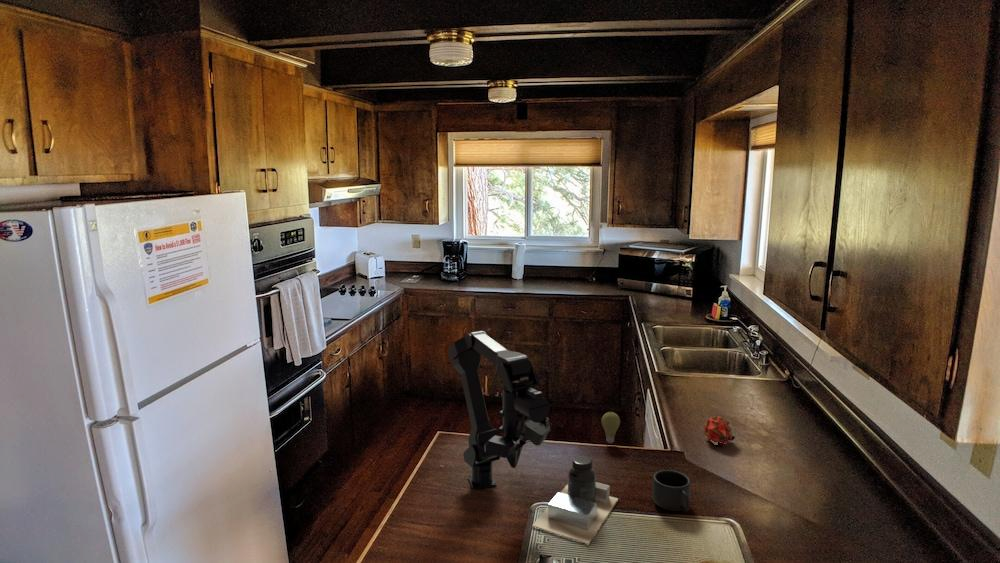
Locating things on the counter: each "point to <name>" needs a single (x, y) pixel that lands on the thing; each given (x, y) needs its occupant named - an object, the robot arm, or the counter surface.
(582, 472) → the supplement bottle
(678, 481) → the mug
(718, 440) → the dragon fruit
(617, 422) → the light bulb
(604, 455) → the counter surface
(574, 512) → the sliding jaw
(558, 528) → the vise
